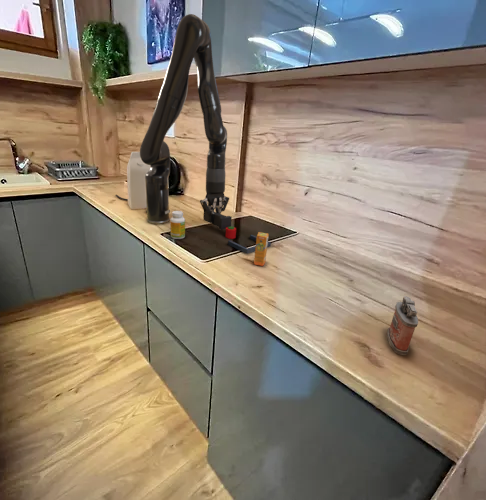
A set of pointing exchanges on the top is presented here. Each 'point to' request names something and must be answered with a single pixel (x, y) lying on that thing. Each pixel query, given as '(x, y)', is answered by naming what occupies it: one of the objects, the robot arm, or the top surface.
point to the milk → (136, 181)
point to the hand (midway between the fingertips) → (214, 222)
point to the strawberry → (230, 232)
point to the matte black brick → (219, 220)
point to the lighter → (402, 325)
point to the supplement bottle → (177, 225)
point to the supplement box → (261, 248)
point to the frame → (243, 249)
